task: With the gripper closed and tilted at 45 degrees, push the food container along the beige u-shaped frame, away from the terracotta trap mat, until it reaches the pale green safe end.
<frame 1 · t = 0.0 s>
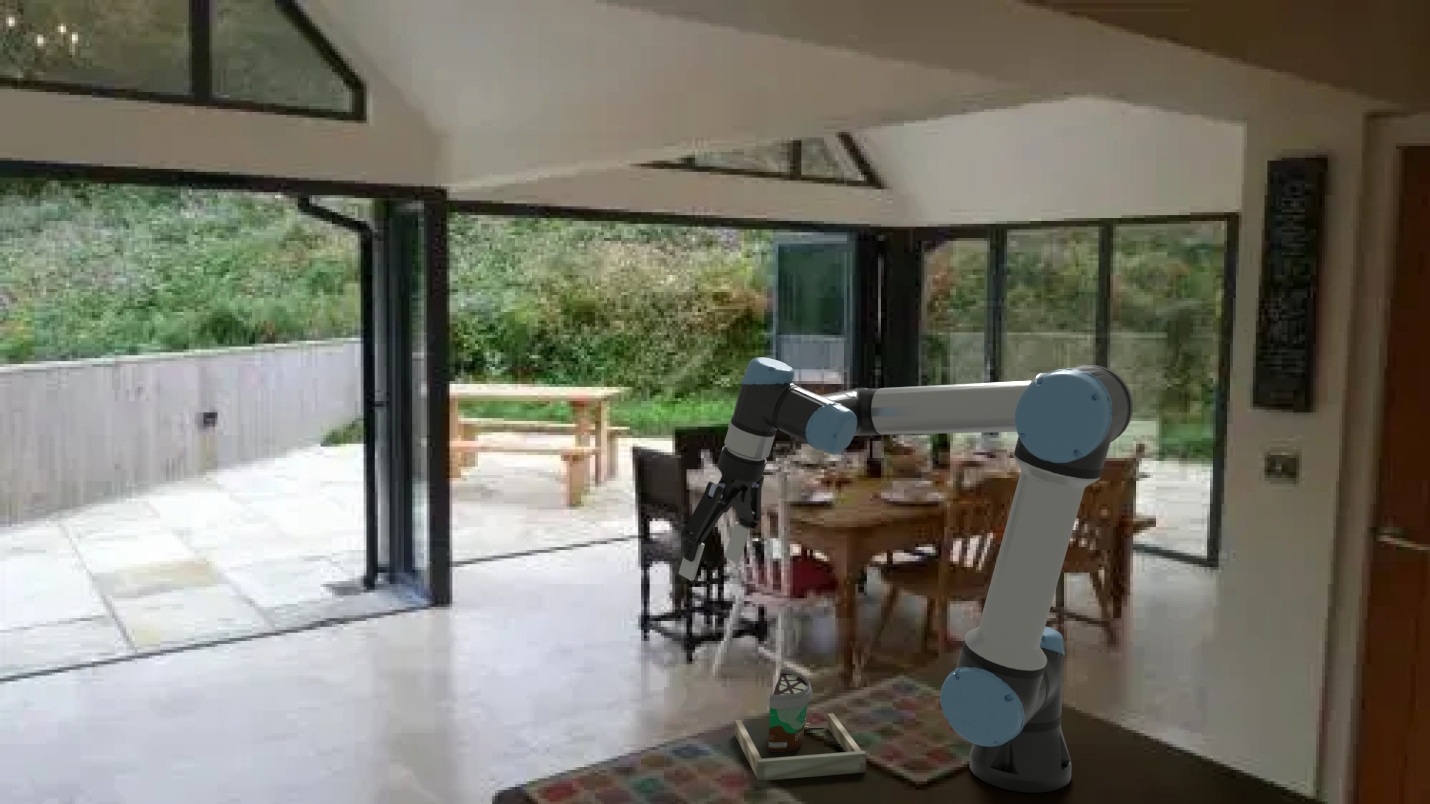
hand: (709, 568, 182), 28 cm above the table, tool tilted 20°, fingers open, 13 cm apart
food container: (791, 742, 180), on the table, touching trap mat
beige u-shaped frame: (797, 752, 176), on the table
trap mat: (798, 725, 187), on the table
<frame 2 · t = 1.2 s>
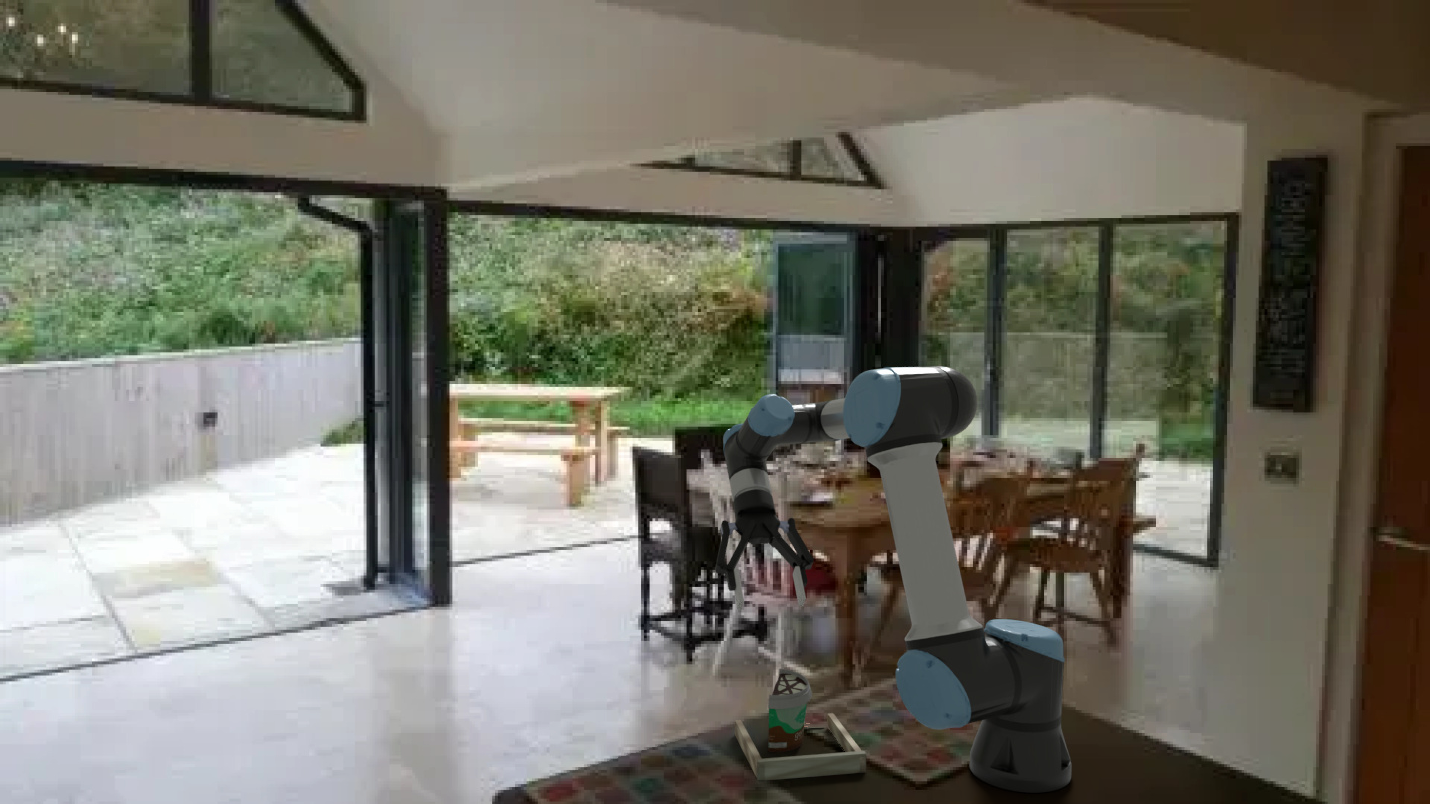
hand: (771, 604, 192), 19 cm above the table, tool tilted 45°, fingers open, 10 cm apart
nothing on the table moved.
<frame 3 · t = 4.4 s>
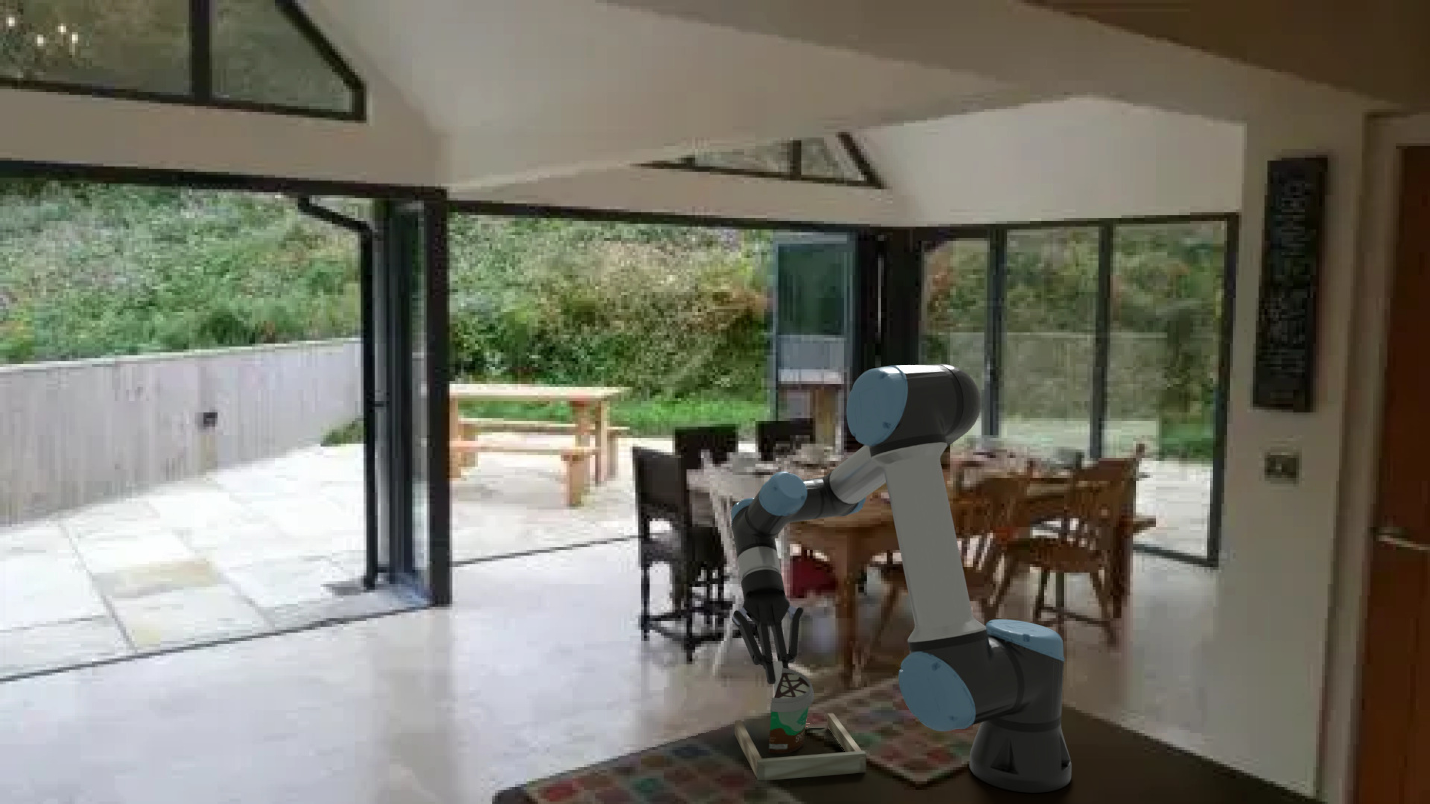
hand: (782, 700, 185), 5 cm above the table, tool tilted 45°, fingers closed
food container: (791, 742, 180), on the table, touching gripper
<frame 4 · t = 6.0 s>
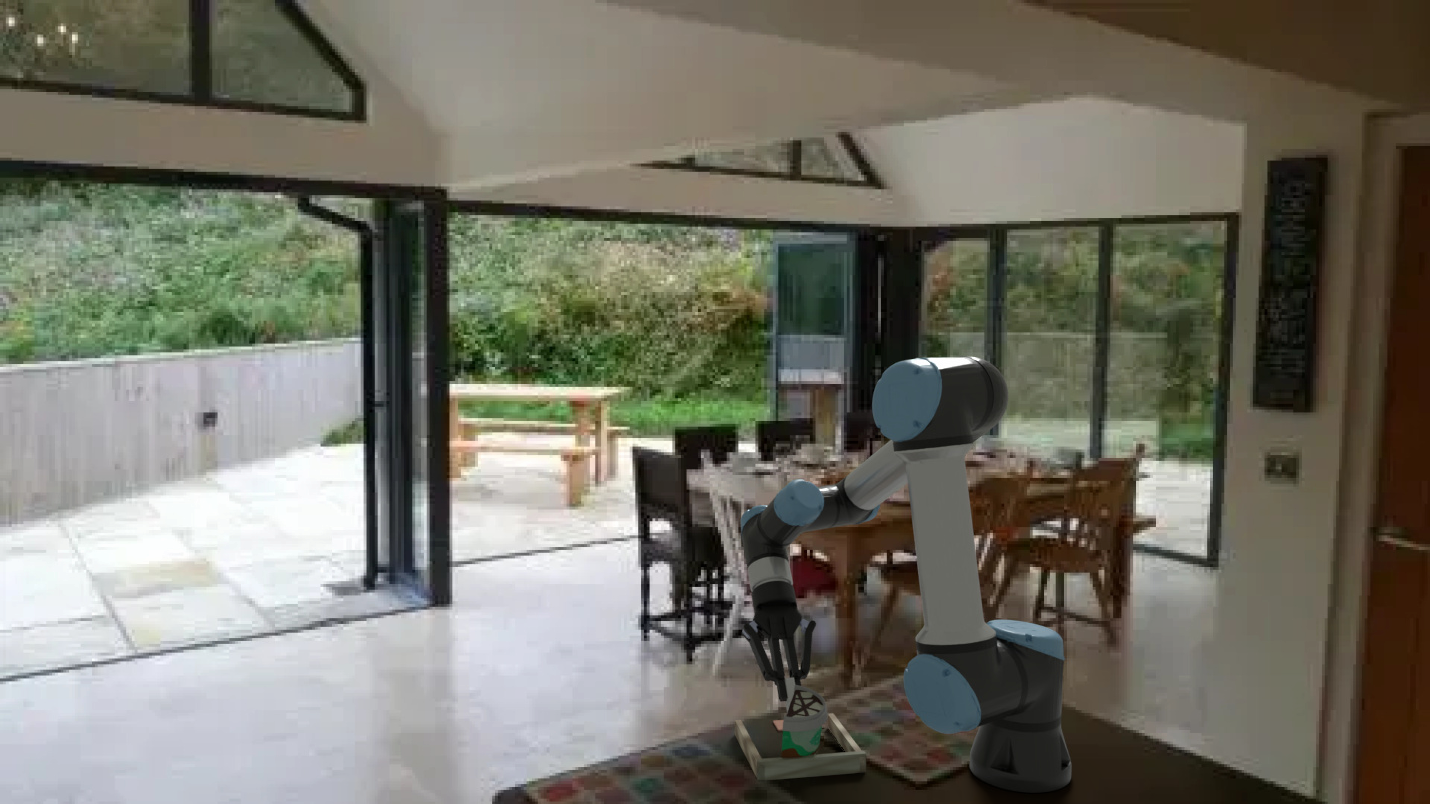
hand: (794, 719, 177), 5 cm above the table, tool tilted 45°, fingers closed
food container: (803, 763, 172), on the table, touching gripper, beige u-shaped frame
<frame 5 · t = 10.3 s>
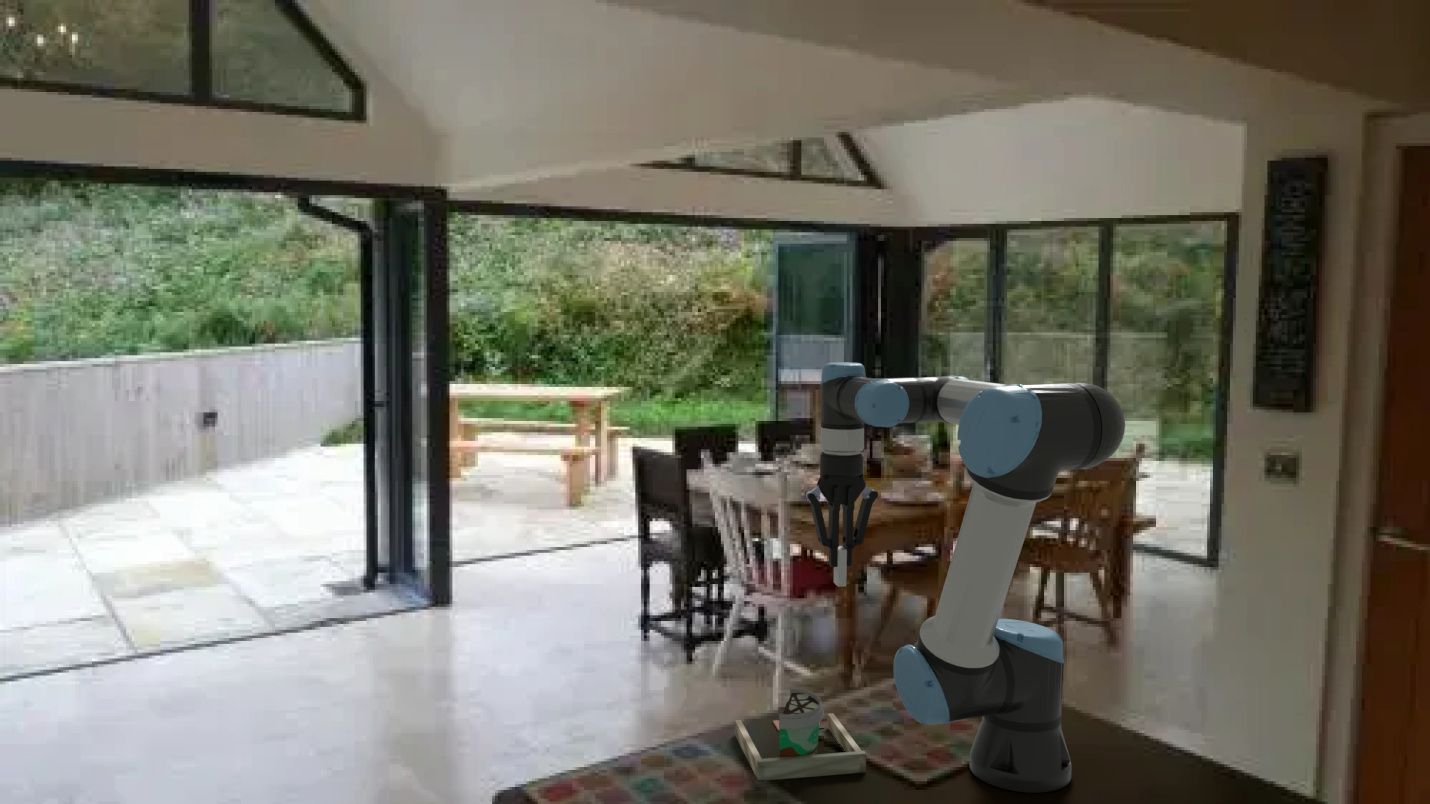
hand: (839, 584, 193), 22 cm above the table, tool pointing down, fingers closed
food container: (803, 765, 172), on the table
at the end: food container inside the target area (0.1 cm from its centre), on the table; food container tilted 0°; the gripper is holding nothing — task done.
